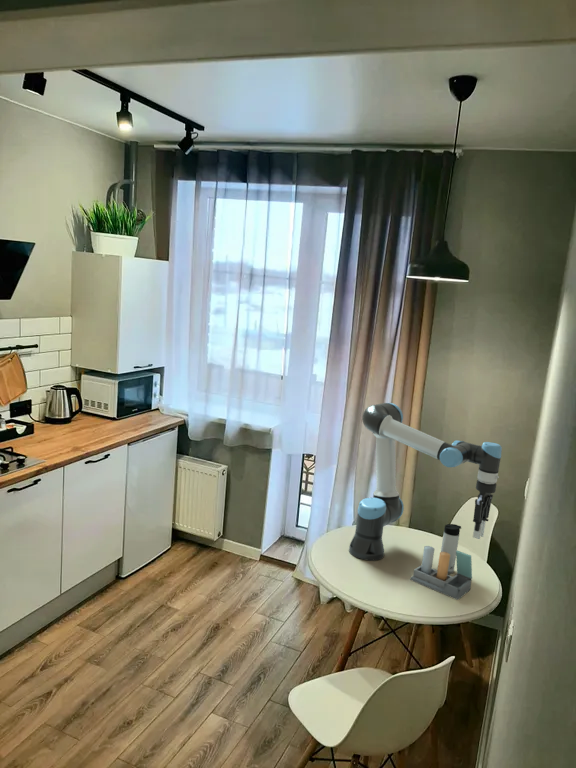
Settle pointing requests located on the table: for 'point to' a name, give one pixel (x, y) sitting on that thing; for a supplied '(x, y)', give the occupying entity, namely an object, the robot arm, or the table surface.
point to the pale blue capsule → (427, 560)
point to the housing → (443, 583)
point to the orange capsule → (443, 566)
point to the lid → (464, 564)
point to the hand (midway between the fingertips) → (478, 536)
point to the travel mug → (451, 543)
